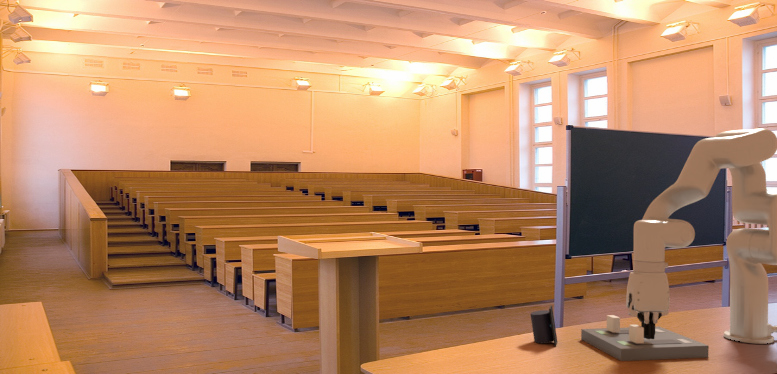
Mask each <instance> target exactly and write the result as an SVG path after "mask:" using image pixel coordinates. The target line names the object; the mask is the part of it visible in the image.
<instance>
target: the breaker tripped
mask: <svg viewBox="0 0 777 374" xmlns="http://www.w3.org/2000/svg"><path fill="white" fill-rule="evenodd" d="M628 327H629V340H630V341H632V342H635V343H644V327H641V325H639V324H629V325H628Z"/></svg>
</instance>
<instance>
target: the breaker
mask: <svg viewBox="0 0 777 374" xmlns="http://www.w3.org/2000/svg"><path fill="white" fill-rule="evenodd" d="M606 328H607V330H609V331H611V332H620V328H621V317H619V316H617V315H614V314H611V315H609V314H607V315H606Z"/></svg>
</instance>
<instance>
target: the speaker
mask: <svg viewBox="0 0 777 374" xmlns="http://www.w3.org/2000/svg"><path fill="white" fill-rule="evenodd" d="M529 315H530V319H531V320H530V321H531V327H532V333H533V341H534V343H536V344H548V343H553V345H554V346H553V347H557V345H558V336H557V335H558V334H557V331H556V323H555V317H554V310H553V305H552V304H551V305H550V306H549V309H546V310H545V309H544V310H542V309H541V310H536V311H531V313H530V314H529Z"/></svg>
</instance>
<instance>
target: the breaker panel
mask: <svg viewBox="0 0 777 374" xmlns="http://www.w3.org/2000/svg"><path fill="white" fill-rule="evenodd" d="M580 332H581V334H580V335H581V341H584V342H586V343H587V344H589V345H591V346H592V347H594V348H596V349H599V350H600V351H601V352H604V353H605V354H608V355H609V356H611V357H612V358H613V357H614V359H616V360H618V361H621V362H625V361H626V362H628V361H647V360H648V361H650V360H651V361H652V360H654V361H655V360H656V361H657V360H674V359H675V360H676V359H680V360H681V359H698V358H699V359H702V358H709V344H705V343H703V342H700V341H697V340H695V339H693V338H690V337H687V336H686V335H682V334H680V333H677V332H675V331H672V330H669V329H667V328H664V327H661V326H655V335H654V339H646V338H644V343H635V342H632V341H630V340H629V326H628V327H627V326H626V327H620V332H611V331H609V330H607V327H605V328H603V327H602V328H581V331H580Z"/></svg>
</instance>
